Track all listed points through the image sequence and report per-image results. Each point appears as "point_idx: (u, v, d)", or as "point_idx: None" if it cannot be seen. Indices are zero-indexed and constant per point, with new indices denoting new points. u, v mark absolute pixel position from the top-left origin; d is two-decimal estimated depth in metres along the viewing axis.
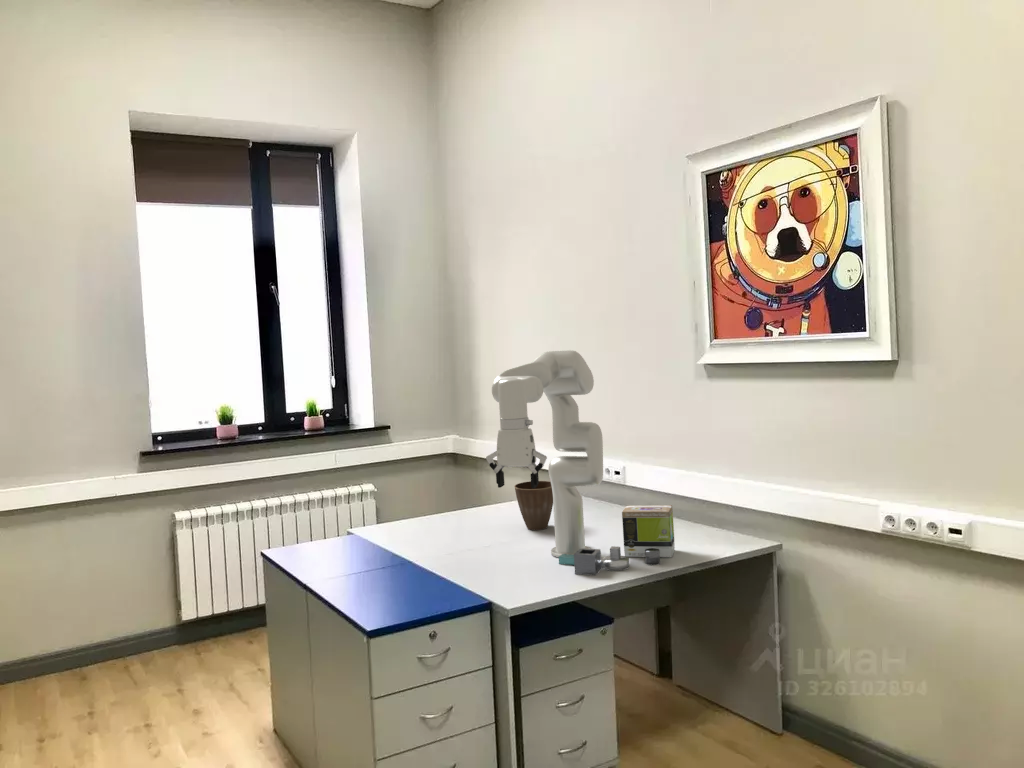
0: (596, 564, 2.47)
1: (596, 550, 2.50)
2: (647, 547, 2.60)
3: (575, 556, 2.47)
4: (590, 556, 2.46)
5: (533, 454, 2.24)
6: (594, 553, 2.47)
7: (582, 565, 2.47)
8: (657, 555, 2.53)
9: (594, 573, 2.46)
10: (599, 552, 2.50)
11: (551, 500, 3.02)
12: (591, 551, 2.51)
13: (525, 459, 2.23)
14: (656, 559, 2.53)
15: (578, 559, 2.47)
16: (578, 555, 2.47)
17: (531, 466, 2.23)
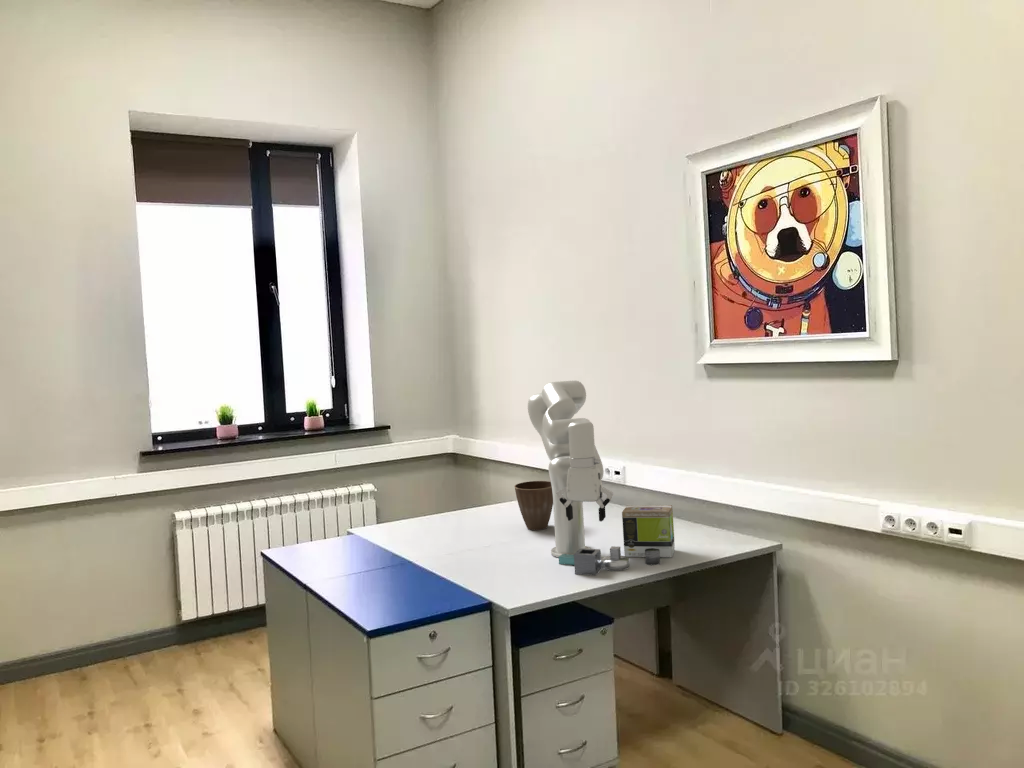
0: (596, 564, 2.47)
1: (596, 550, 2.50)
2: (647, 547, 2.60)
3: (575, 556, 2.47)
4: (590, 556, 2.46)
5: (601, 490, 2.45)
6: (594, 553, 2.47)
7: (582, 565, 2.47)
8: (657, 555, 2.53)
9: (594, 573, 2.46)
10: (599, 552, 2.50)
11: (551, 500, 3.02)
12: (591, 551, 2.51)
13: (594, 495, 2.45)
14: (656, 559, 2.53)
15: (578, 559, 2.47)
16: (578, 555, 2.47)
17: (599, 501, 2.45)
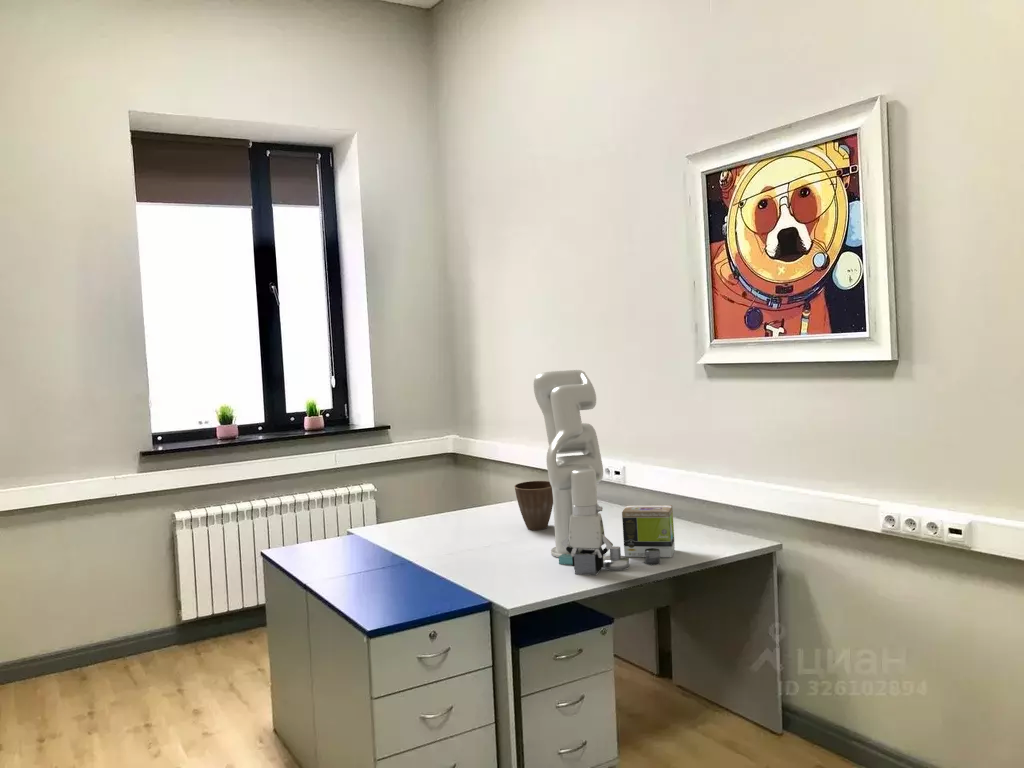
0: (596, 564, 2.47)
1: None
2: (647, 547, 2.60)
3: (575, 556, 2.47)
4: (590, 556, 2.46)
5: (603, 537, 2.47)
6: (594, 553, 2.47)
7: (582, 565, 2.47)
8: (657, 555, 2.53)
9: (594, 573, 2.46)
10: None
11: (551, 500, 3.02)
12: (591, 551, 2.51)
13: (596, 542, 2.46)
14: (656, 559, 2.53)
15: (578, 559, 2.47)
16: (578, 555, 2.47)
17: (598, 551, 2.47)
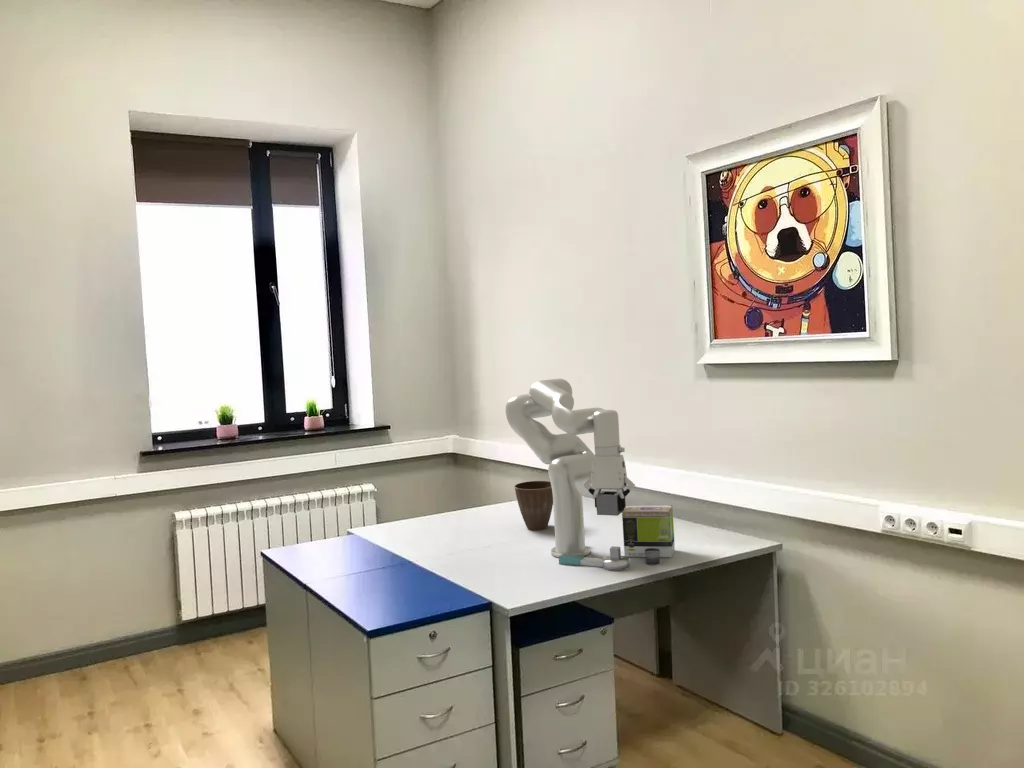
0: (618, 504, 2.48)
1: None
2: (647, 547, 2.60)
3: (597, 497, 2.49)
4: (612, 496, 2.47)
5: (625, 478, 2.48)
6: (616, 494, 2.48)
7: (604, 506, 2.48)
8: (657, 555, 2.53)
9: (616, 513, 2.47)
10: None
11: (551, 500, 3.02)
12: (613, 493, 2.52)
13: (618, 483, 2.47)
14: (656, 559, 2.53)
15: (600, 500, 2.49)
16: (600, 496, 2.48)
17: (620, 491, 2.48)
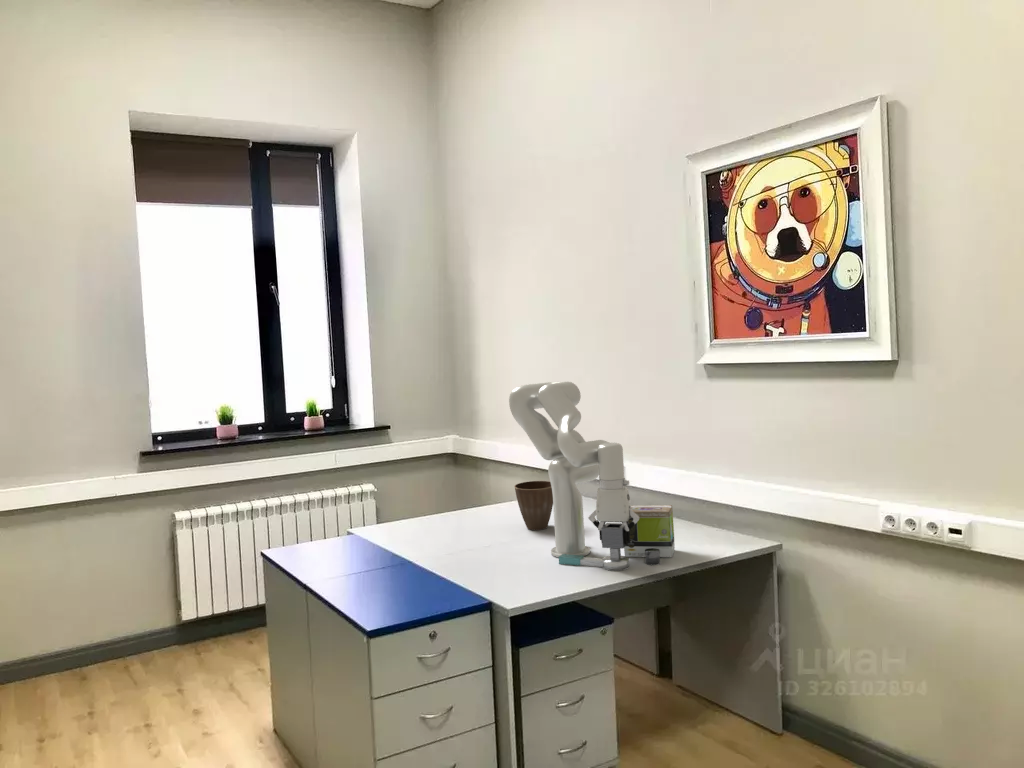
0: (623, 537, 2.49)
1: None
2: (647, 547, 2.60)
3: (602, 530, 2.50)
4: (617, 529, 2.48)
5: (630, 511, 2.49)
6: (621, 527, 2.49)
7: (609, 539, 2.49)
8: (657, 555, 2.53)
9: (621, 546, 2.48)
10: None
11: (551, 500, 3.02)
12: (618, 525, 2.53)
13: (623, 516, 2.48)
14: (656, 559, 2.53)
15: (605, 533, 2.50)
16: (605, 529, 2.49)
17: (625, 524, 2.49)
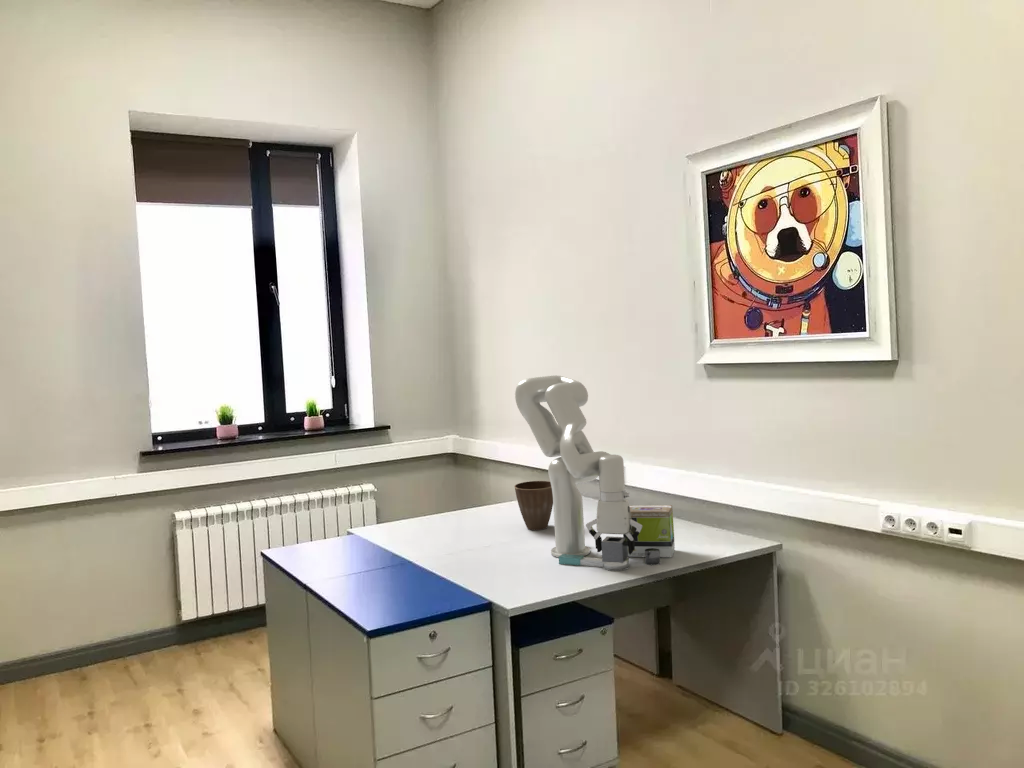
0: (623, 551, 2.50)
1: (623, 538, 2.53)
2: (647, 547, 2.60)
3: (602, 544, 2.50)
4: (617, 544, 2.49)
5: (630, 523, 2.49)
6: (621, 541, 2.50)
7: (609, 553, 2.50)
8: (657, 555, 2.53)
9: (621, 560, 2.49)
10: (626, 540, 2.53)
11: (551, 500, 3.02)
12: (618, 539, 2.54)
13: (623, 528, 2.49)
14: (656, 559, 2.53)
15: (605, 547, 2.50)
16: (605, 543, 2.50)
17: (628, 534, 2.49)
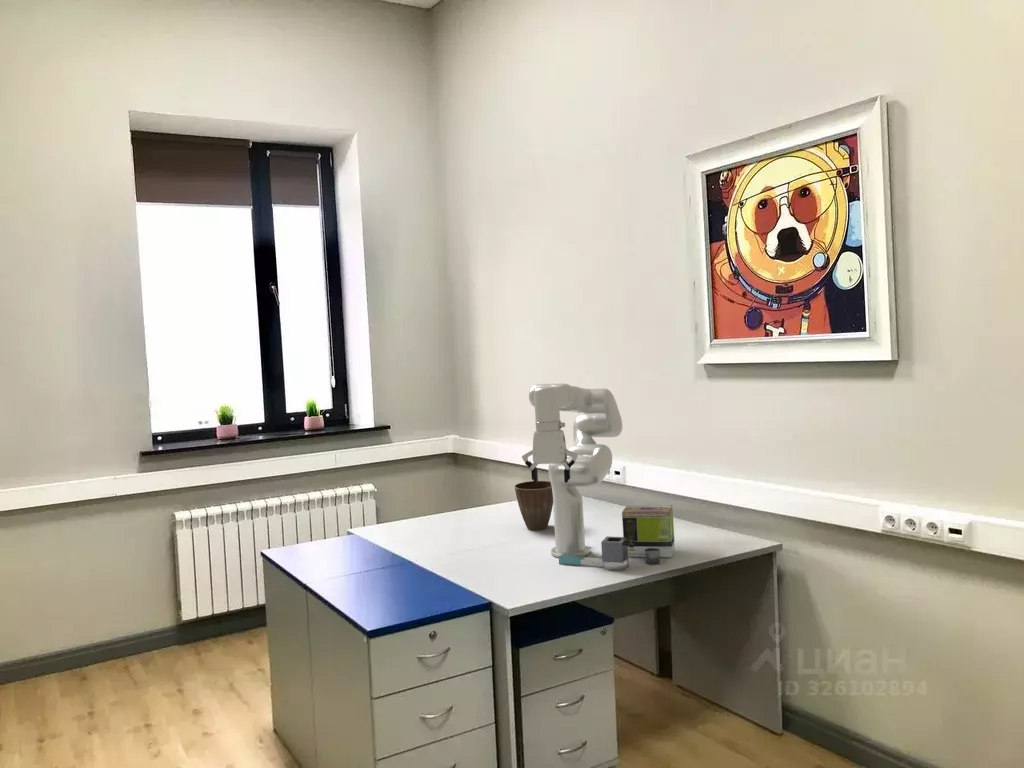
0: (623, 551, 2.50)
1: (623, 538, 2.53)
2: (647, 547, 2.60)
3: (602, 544, 2.50)
4: (617, 544, 2.49)
5: (566, 452, 2.54)
6: (621, 541, 2.50)
7: (609, 553, 2.50)
8: (657, 555, 2.53)
9: (621, 560, 2.49)
10: (626, 540, 2.53)
11: (551, 500, 3.02)
12: (618, 539, 2.54)
13: (559, 457, 2.53)
14: (656, 559, 2.53)
15: (605, 547, 2.50)
16: (605, 543, 2.50)
17: (564, 463, 2.54)
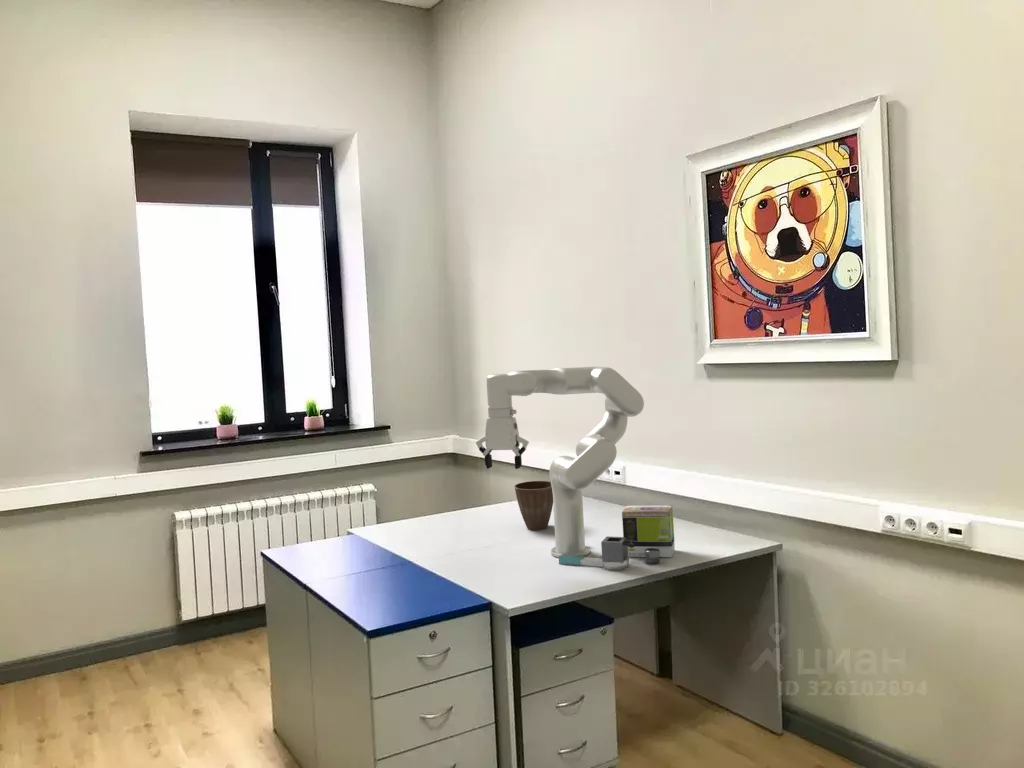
0: (623, 551, 2.50)
1: (623, 538, 2.53)
2: (647, 547, 2.60)
3: (602, 544, 2.50)
4: (617, 544, 2.49)
5: (517, 439, 2.58)
6: (621, 541, 2.50)
7: (609, 553, 2.50)
8: (657, 555, 2.53)
9: (621, 560, 2.49)
10: (626, 540, 2.53)
11: (551, 500, 3.02)
12: (618, 539, 2.54)
13: (510, 443, 2.57)
14: (656, 559, 2.53)
15: (605, 547, 2.50)
16: (605, 543, 2.50)
17: (515, 449, 2.58)
